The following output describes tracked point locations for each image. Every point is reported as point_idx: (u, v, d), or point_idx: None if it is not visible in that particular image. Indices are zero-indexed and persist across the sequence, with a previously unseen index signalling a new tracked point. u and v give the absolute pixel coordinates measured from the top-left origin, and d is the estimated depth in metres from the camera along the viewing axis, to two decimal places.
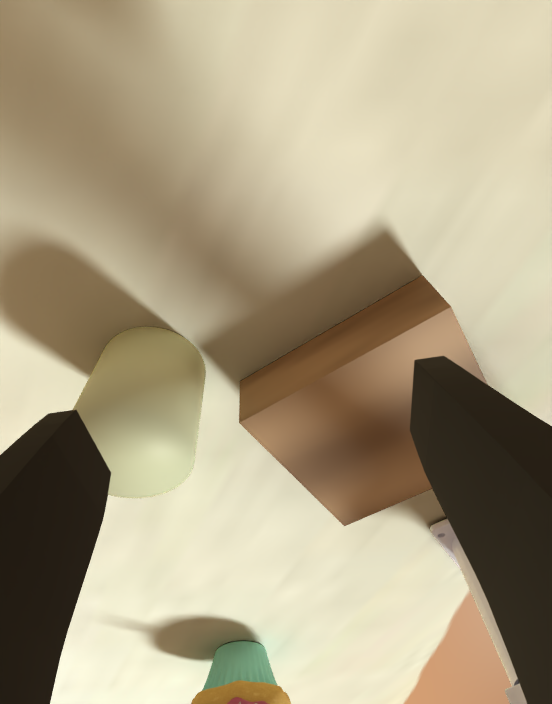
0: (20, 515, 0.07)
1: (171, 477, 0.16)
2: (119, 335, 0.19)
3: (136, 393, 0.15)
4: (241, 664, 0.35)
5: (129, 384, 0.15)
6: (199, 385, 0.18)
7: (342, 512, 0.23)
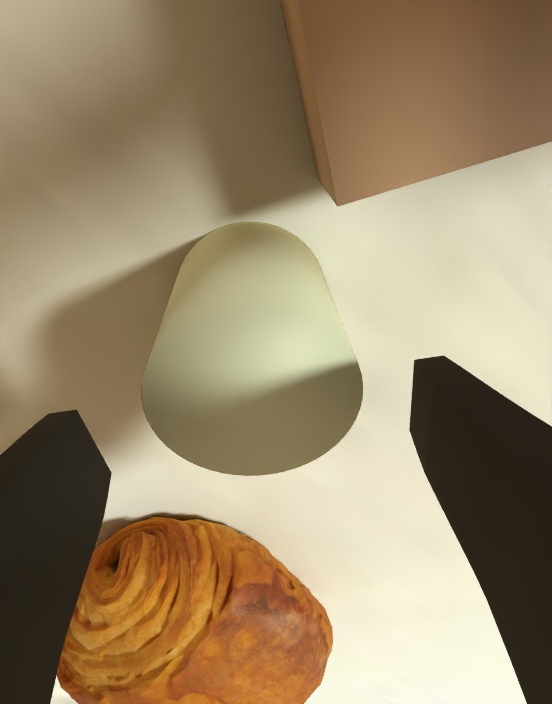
0: (20, 515, 0.07)
1: (331, 365, 0.09)
2: None
3: (157, 339, 0.09)
4: None
5: None
6: (258, 244, 0.11)
7: None
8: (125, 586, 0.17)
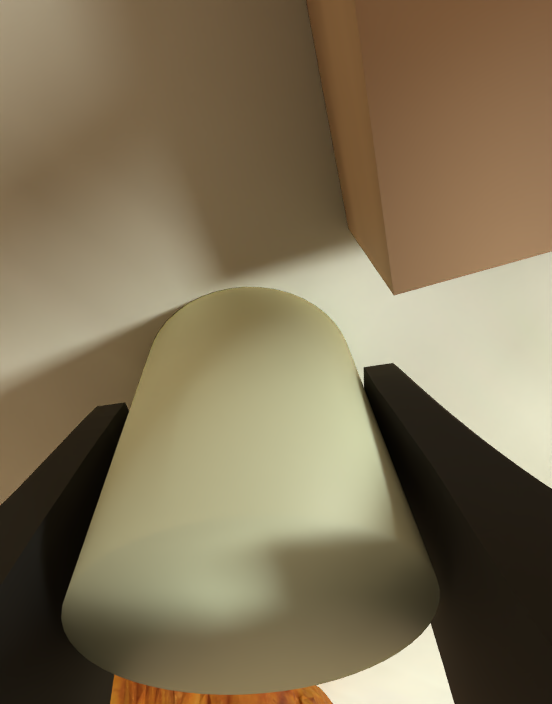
0: (83, 506, 0.07)
1: (390, 580, 0.05)
2: None
3: (90, 526, 0.05)
4: None
5: (95, 509, 0.06)
6: (261, 335, 0.07)
7: None
8: None
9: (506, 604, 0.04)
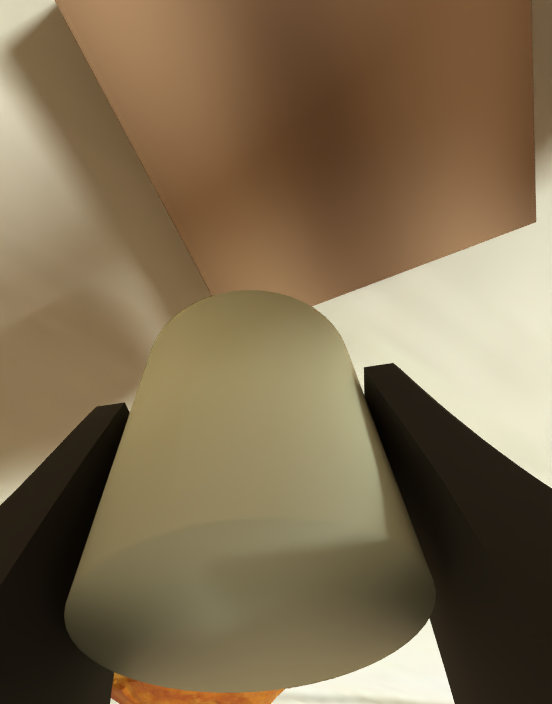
0: (82, 506, 0.07)
1: (388, 582, 0.05)
2: None
3: (94, 526, 0.05)
4: None
5: None
6: (263, 339, 0.07)
7: (494, 221, 0.12)
8: None
9: (505, 603, 0.04)
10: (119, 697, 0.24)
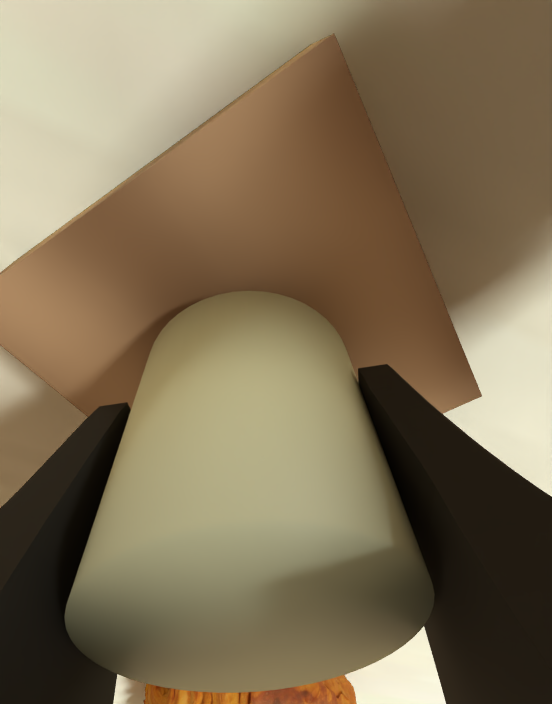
0: (86, 506, 0.07)
1: (387, 585, 0.05)
2: None
3: (95, 527, 0.05)
4: None
5: (99, 509, 0.06)
6: (265, 341, 0.07)
7: (438, 402, 0.12)
8: None
9: (493, 605, 0.04)
10: None
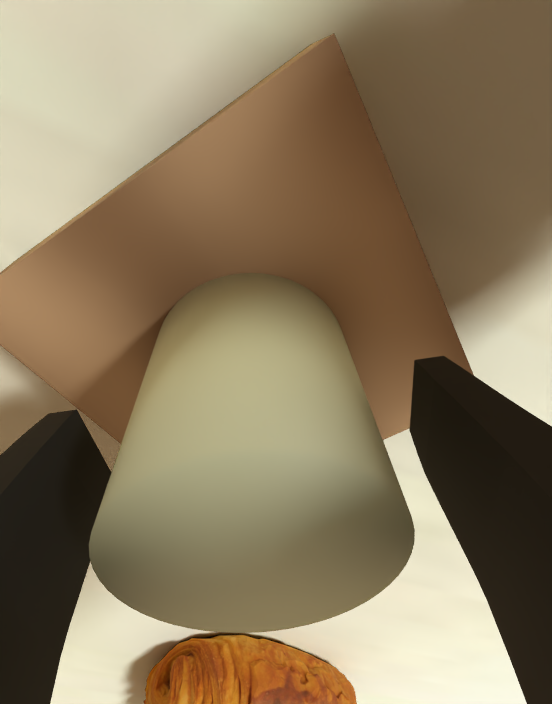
0: (20, 515, 0.07)
1: (372, 519, 0.06)
2: None
3: (115, 468, 0.06)
4: None
5: None
6: (265, 314, 0.08)
7: None
8: None
9: None
10: None
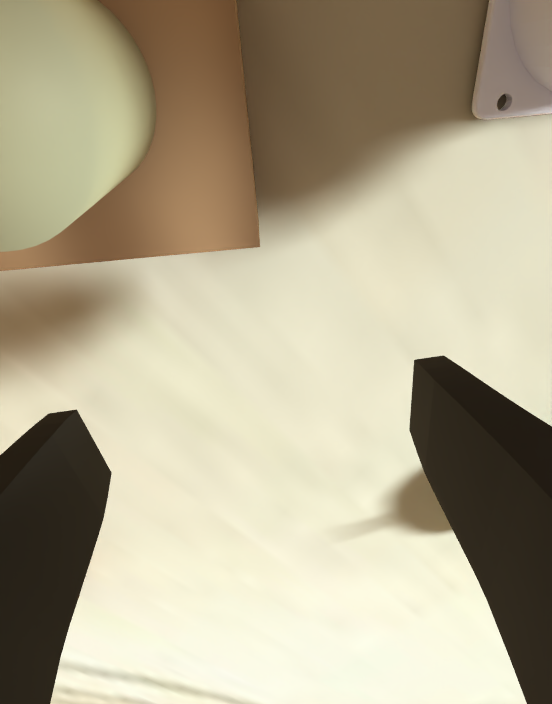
0: (20, 515, 0.07)
1: (60, 108, 0.07)
2: None
3: None
4: None
5: None
6: None
7: (223, 235, 0.14)
8: None
9: None
10: None
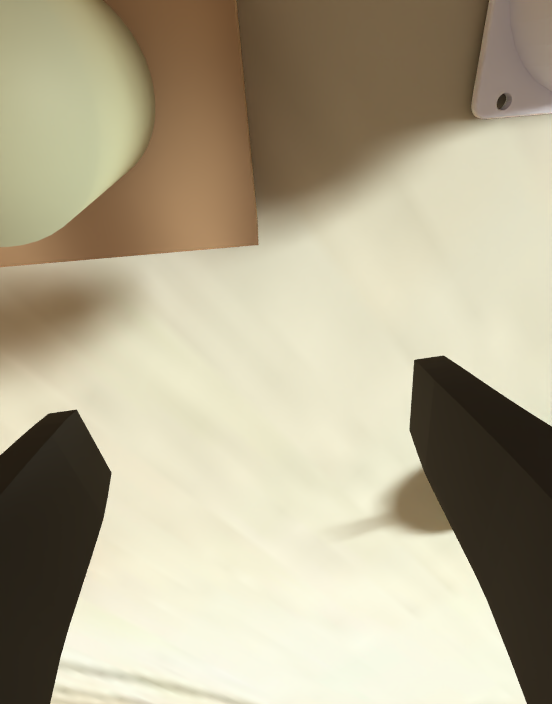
0: (20, 515, 0.07)
1: (63, 101, 0.07)
2: None
3: None
4: None
5: None
6: None
7: (222, 233, 0.14)
8: None
9: None
10: None
